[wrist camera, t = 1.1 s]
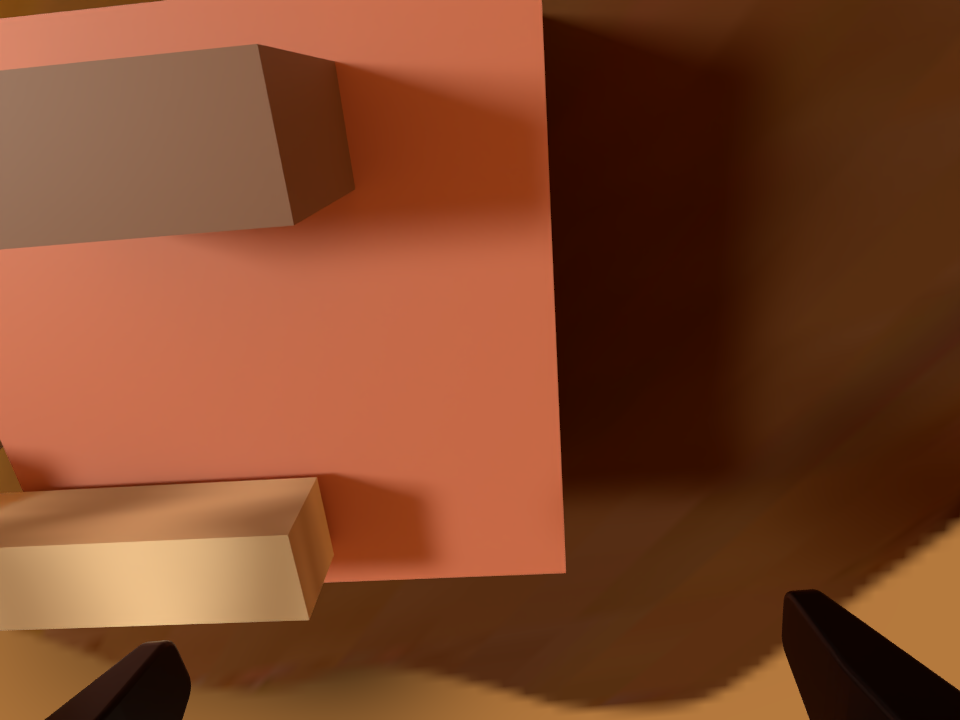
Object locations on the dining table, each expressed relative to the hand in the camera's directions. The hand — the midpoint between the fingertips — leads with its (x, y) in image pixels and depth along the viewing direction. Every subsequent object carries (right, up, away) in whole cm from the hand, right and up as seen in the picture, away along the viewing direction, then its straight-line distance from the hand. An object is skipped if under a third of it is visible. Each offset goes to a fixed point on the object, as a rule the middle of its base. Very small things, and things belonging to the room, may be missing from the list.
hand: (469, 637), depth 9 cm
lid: (-5, +5, +6) cm, 9 cm away
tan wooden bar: (-10, 0, +7) cm, 12 cm away
